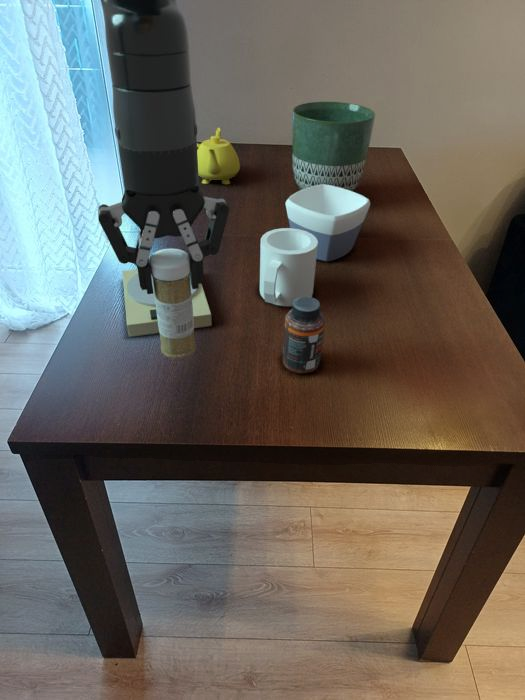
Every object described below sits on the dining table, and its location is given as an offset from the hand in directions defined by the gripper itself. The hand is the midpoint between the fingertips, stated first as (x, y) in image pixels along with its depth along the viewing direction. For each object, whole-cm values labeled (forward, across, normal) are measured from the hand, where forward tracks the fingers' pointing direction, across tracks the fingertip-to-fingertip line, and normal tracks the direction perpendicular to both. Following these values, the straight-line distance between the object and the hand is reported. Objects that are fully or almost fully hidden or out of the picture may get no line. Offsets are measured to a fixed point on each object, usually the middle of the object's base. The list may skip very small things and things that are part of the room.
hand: (172, 287), depth 58 cm
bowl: (+19, -36, -41) cm, 58 cm away
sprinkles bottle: (+10, 0, 0) cm, 10 cm away
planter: (+19, -46, -67) cm, 84 cm away
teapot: (+19, -20, -87) cm, 92 cm away
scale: (+20, 0, -27) cm, 33 cm away
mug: (+20, -22, -25) cm, 39 cm away
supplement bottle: (+20, -19, -5) cm, 28 cm away
